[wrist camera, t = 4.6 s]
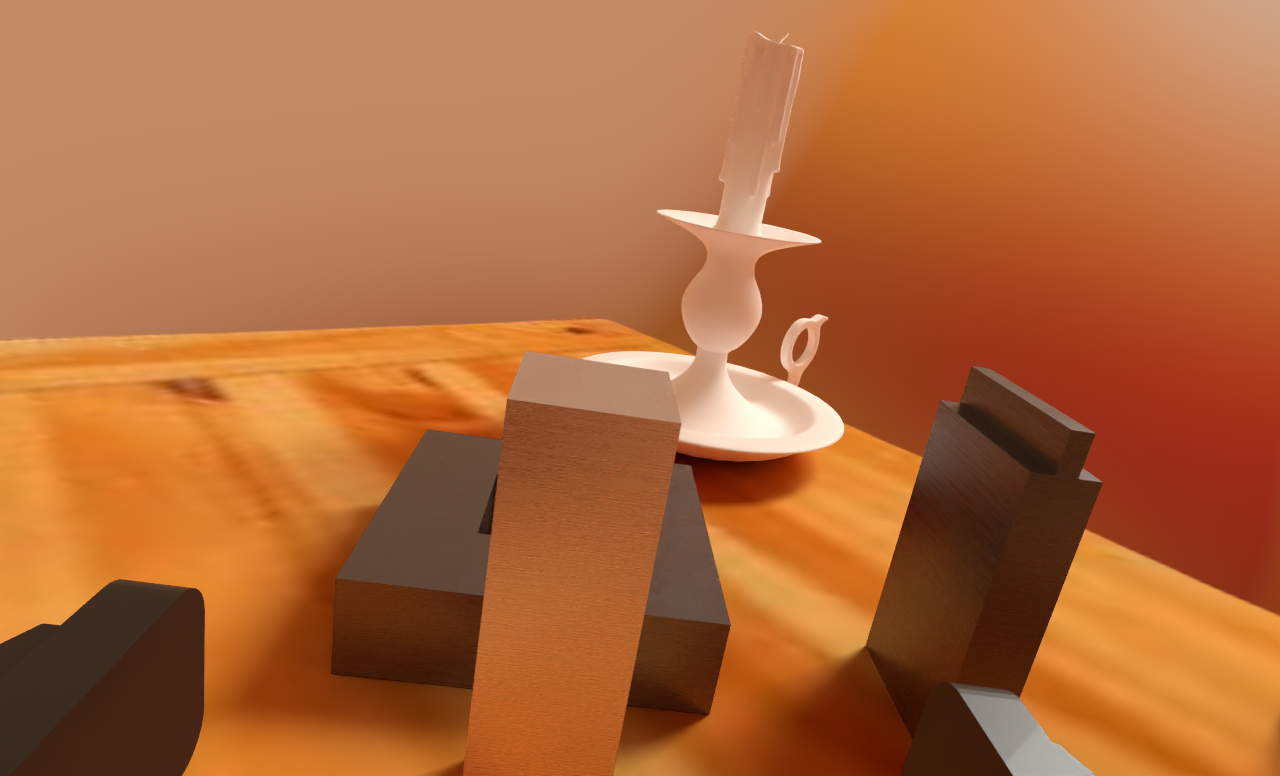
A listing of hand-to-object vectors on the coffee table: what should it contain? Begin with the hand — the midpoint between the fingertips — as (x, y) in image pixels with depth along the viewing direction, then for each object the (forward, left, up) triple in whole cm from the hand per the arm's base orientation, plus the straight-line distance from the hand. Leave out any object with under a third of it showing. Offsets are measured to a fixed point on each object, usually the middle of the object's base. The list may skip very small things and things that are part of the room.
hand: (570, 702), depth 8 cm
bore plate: (-16, -17, -14) cm, 27 cm away
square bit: (-8, -8, -14) cm, 18 cm away
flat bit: (-24, -2, -14) cm, 28 cm away
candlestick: (-41, -26, -14) cm, 51 cm away
